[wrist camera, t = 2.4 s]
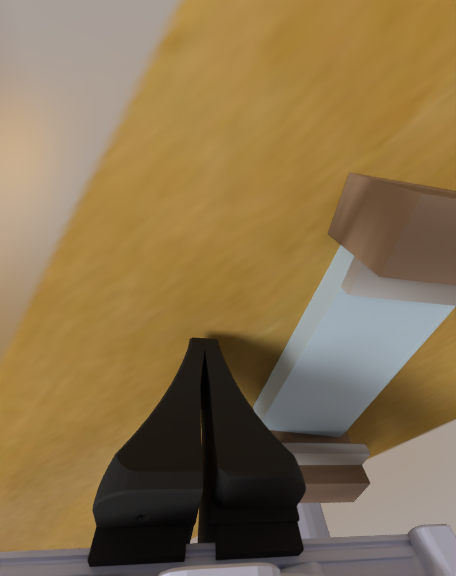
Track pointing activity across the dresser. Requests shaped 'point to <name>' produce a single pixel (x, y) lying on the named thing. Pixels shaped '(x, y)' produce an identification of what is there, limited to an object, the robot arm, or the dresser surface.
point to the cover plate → (342, 356)
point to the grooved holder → (380, 284)
